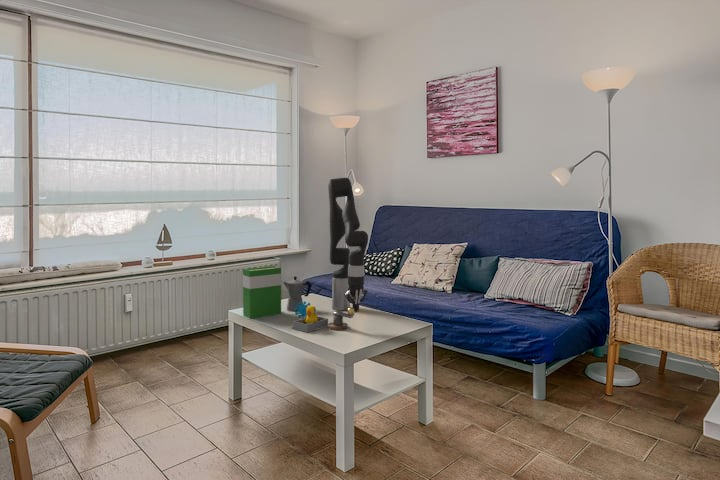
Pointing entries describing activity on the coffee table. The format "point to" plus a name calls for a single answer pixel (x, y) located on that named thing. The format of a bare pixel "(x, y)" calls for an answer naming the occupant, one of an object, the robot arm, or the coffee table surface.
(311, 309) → the duckling
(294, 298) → the coffeepot
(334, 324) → the base
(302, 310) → the gear
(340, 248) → the robot arm
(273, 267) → the green box
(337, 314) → the crank
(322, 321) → the tray
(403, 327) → the coffee table surface
